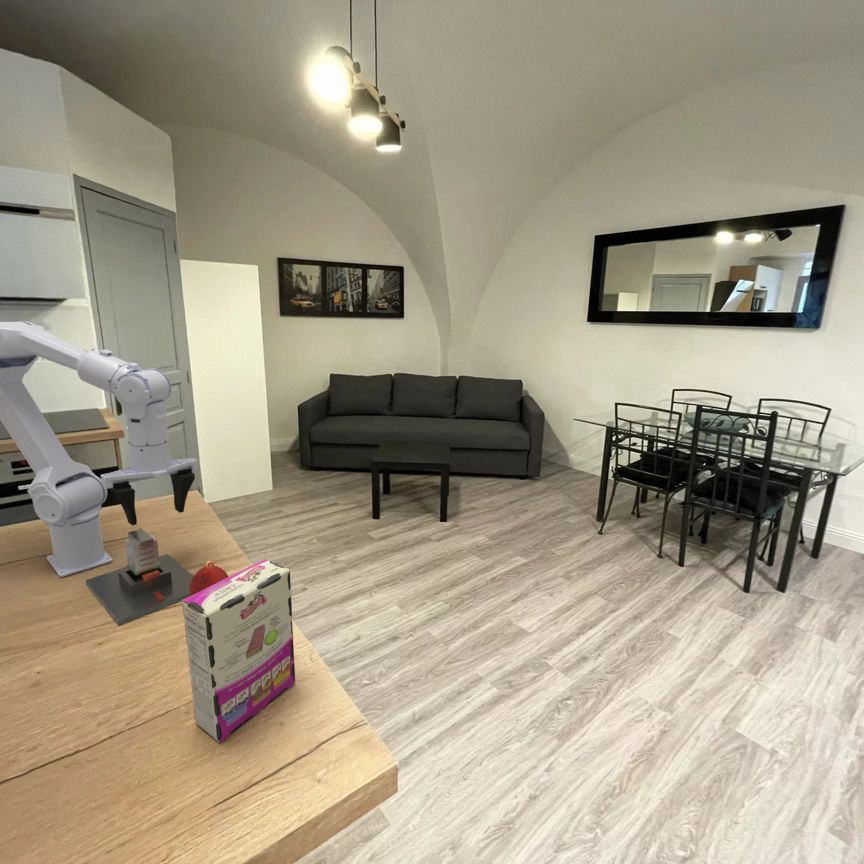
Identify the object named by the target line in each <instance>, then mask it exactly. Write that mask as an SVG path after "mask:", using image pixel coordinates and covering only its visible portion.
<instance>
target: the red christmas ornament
mask: <svg viewBox="0 0 864 864" xmlns="http://www.w3.org/2000/svg"><path fill="white" fill-rule="evenodd" d="M193 576H194V577H193V578H192V580H191V583H190V595H191V596H192V595H194V594H196V593H198V592H200V591H202V590H204V589H206V588H208V587H210V586H212V585H214V584H216V583H218V582H220V581H222V580H224V579H226V578H228V577H229V575H228V573H227V572H226V571H225V569H223V568H222V567H219V566H217V565H215V562H214V561H213V560H208V561H206V562H205V563H204V566H203V567H201V568H200V569H199V570H197V571H196V572H195V574H193Z"/></svg>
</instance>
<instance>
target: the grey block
mask: <svg viewBox="0 0 864 864" xmlns="http://www.w3.org/2000/svg"><path fill="white" fill-rule="evenodd" d="M124 542H125V543H124V544H125V552H126V560H127V565H126V567H128V568H129V569H130V570H131V571H132V572H133V573H134V574H135V575H139V574H142V573H145V572H148V571H150V570H153V569H156V568H159V567H161V565H160V562H159V556H160V554H159V545H158V539H157V538H155V537H154V536H153V535H152V534H151V533H148V532H146V531H145V530H143V528H139V529H134V530H132V531H128V538H127V539H125V540H124Z"/></svg>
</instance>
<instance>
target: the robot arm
mask: <svg viewBox="0 0 864 864" xmlns="http://www.w3.org/2000/svg"><path fill="white" fill-rule="evenodd" d="M38 358H42V359H45V360H47V361H50V362H53V363H55V364H58V365H61V366H63V367H67V368H69V369H71V370H74V371H76V372H77V376H78V378H79V379H80V381H82V382H84V383H86V384H89V385H90V386H93V387H95V388H97V389H100V390H102V391H105V392H107V393H109V394H111V395H114V396H115V398H116V400H117V401H118V402H119V404H120V405H121V407H122V410H123V415H125V418H126V424H127V432H128V433H127V434H128V441H129V450H130V452H129V453H130V460H131V466H129V467H126V468H121V469H119V470H115V471H113V472H112V471H111V472H109V473H108V472H107V473H104V474H103V473H102V474H100V477H98V476H97V475H96V474H95V473H94V472H93V471H92V470H91V467H90V466H89V465H86V464H83V463H80V462H77V461H74V460H73V459H71V457H70V456H69V454H68V452H67V451H66V449H65V448H64V446H63V445H62V443H61V441H60V440H59V438H58V436H57V435H56V433H55V432H54V430H53V428H52V427H51V425H50V424H49V422H48V421H47V419H46V418H45V416H44V414H43V412H42V411H41V410H40V408H39V407H38V405H37V403H36V402H35V400H34V398H33V397H32V395H31V394H30V392H29V391H28V389H27V388H26V385H25V384H24V382H23V380H24V376H25V375H26V374H27V373H29V371H30V370H31V368H32V367H33V365H34V364H35V363H36V361H37V359H38ZM171 394H172V383H171V381H170V379H169V376H168V375H167V374H165V373H164V372H162V371H161V370H159V369H158V368H155V367H151V368H146V369H142V368H141V367H140V365H139V364H138V363H136V362H128V361H125V360H123V359H121V358H119V357H117V356H114V352H113V351H111V350H109V349H95V350H90V351H89V352H87V351H86V350H83V349H81V348H80V347H77V346H76V345H74V344H72V343H69V342H68V341H66V340H64V339H62V338H59V337H58V336H57V335H54V334H52V333H51V332H48V331H46V329H45V328H44V326H42V325H37V324H34V323H32V322H30V321H26V320H18V321H0V422H1V423H2V425H3V426H4V427H5V430H6V431H7V432H8V434H9V436H10V437H11V439H12V440H13V442H14V443H15V445H16V446H17V448H18V449H19V451H20V452H21V454H22V456H23V457H24V459H25V460H26V461H27V463H28V465H29V466H30V468H31V470H32V471H33V472H34V474H35V477H34V478H33V480H32V481H31V484H30V485H29V486H28V489H27V493H28V495H29V496H30V497H31V500H32V505H33V509H34V512H35V513H36V515H37V517H38V518H39V519H40V520H41V521H42V522H44V523H45V525H48V528H49V535H50V537H49V538H50V541H51V548H52V549H51V550H52V554H50V555H47V556H46V559H47V561H48V562H49V564H50V566H51V567H52V568H53V570H54V571H55V572H56V574H57V575H58V576H59V577H60V578H62V577H66V576H70V575H73V574H75V573H76V574H77V573H80V572H83V571H87V570H89V569H92V568H96V567H100V566H102V565H106V564H108V563H112V562H113V558H112V557H111V555H110V554H109V553H107V551H106V550H105V549H104V540H103V534H102V525H101V518H100V511H102V505H103V503H105V501H106V500H107V497H108V489H110V491H111V492H112V493H113V495H114V496H115V497H116V499H117V500H118V502H119V504H120V505H121V507H122V509H123V512H124V514H125V516H126V519H127V523H128V524H129V525H130V526H136V525H138V524H137V523H138V520H137V519H138V518H137V514H136V506H135V504H136V503H135V501H136V499H135V498H136V497H135V496H136V495H135V494H136V490H135V489H134V488H132V484H130V483H136V482H140V481H145V480H149V479H153V478H158V477H159V478H160V477H163V476H170V480H171V485H172V488H173V490H172V491H173V503H174V509H175V511H177V512H178V513H179V514H181V513H184V512H185V507H186V501H187V498H188V494H189V491H190V489H191V488H192V484H193V483H194V482H195V479H196V475H195V471H198V470H199V465H198V463H199V462H198V459H196V458H195V457H189V458H181V459H171V454H170V444H169V442H170V441H169V430H168V428H169V427H168V418H167V408H166V400H168V399H169V398H170V396H171ZM62 482H63V483H62ZM60 483H61V484H60ZM57 484H58V485H57Z"/></svg>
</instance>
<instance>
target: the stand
mask: <svg viewBox="0 0 864 864" xmlns="http://www.w3.org/2000/svg"><path fill="white" fill-rule="evenodd" d="M159 562H160V565H161V567H159V568H156V569H153V570H150V571H148V572H145V573H142V574H139V575H135V574H134V573H133V572H132V571H131V570H130V569H129V568H128V567H127V566H125V567H123V568H120V569H116V570H112V571H110V572H106V573H105V574H104V573H103V574H101V575H97V576H94V577H91V578H87V579H86V580H85V585H86V586H87V588H89V589H90V591H91V592H92V593H93V595H94V596H95V597H96V599H98V602H100V604H101V605H102V607H104V609H105V610H106V611H107V613H108V614H109V615H110V617H111V618H112V619H113V620H114V621H115V623H116V624H117V626H122V625H124V624H127V623H129V622H132V621H134V620H137V619H140V618H143V617H145V616H147V615H150V614H153V613H155V612H157V611H160V610H162V609H165V608H167V607H169V606H172V605H175V604H177V603H180V602H182V600H184V599H186V598H188V597H190V596H191V595H190V583H191V580H192V578H193V577H194V574H192V573H191V572H190V571H189V570H187V569H186V568H184V567H183V566H182V565H181V564H180V563H179V562H177V560H175V559H174V558H173V557H172V556H171V555H169V554H168V553H166V554H162V555H159Z"/></svg>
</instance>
